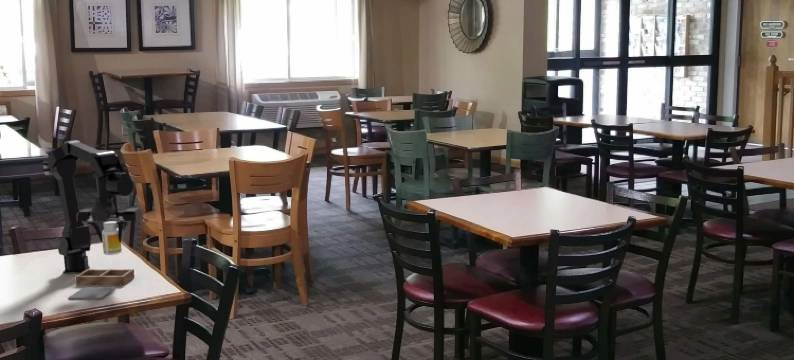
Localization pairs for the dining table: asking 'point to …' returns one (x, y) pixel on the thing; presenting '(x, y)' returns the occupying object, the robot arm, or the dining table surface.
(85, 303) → the dining table surface
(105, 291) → the coaster
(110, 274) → the brown two-compartment frame
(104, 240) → the supplement bottle
